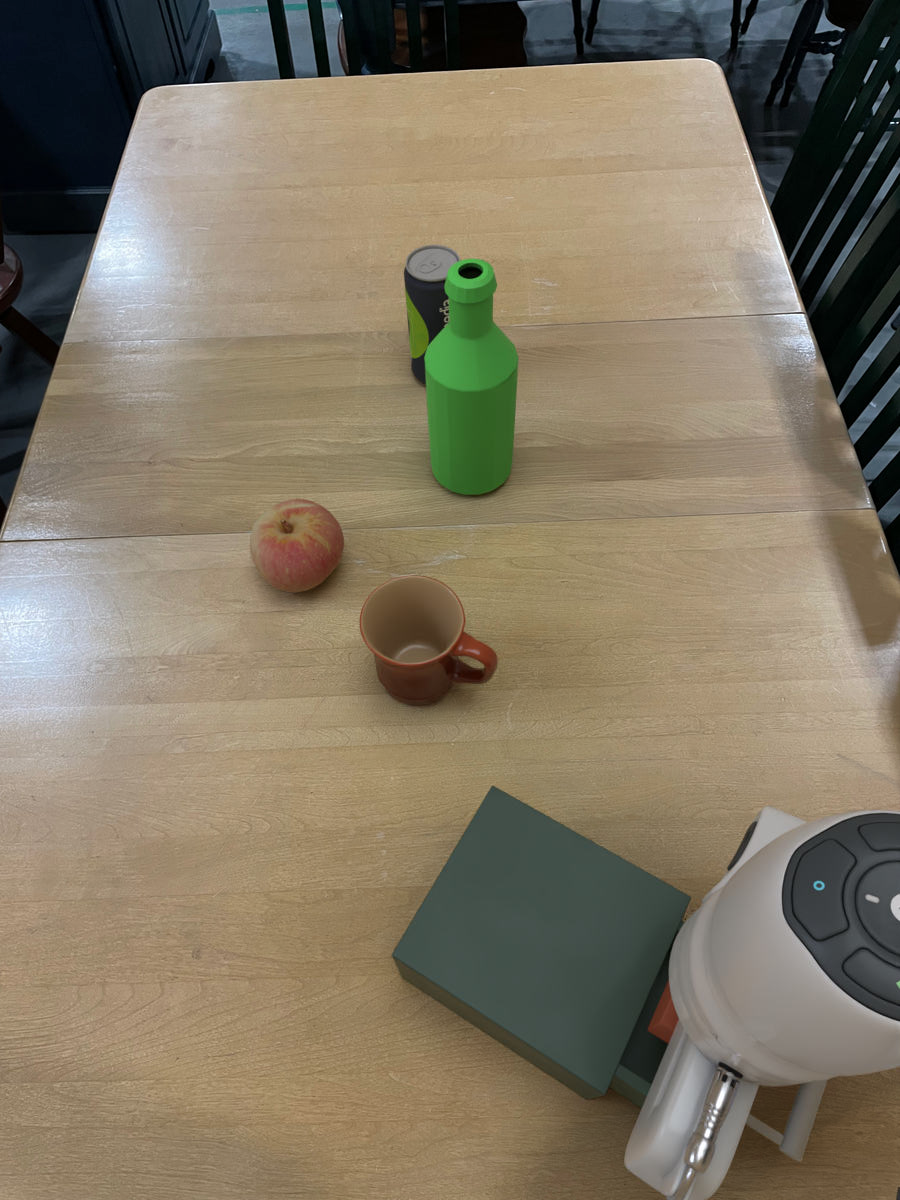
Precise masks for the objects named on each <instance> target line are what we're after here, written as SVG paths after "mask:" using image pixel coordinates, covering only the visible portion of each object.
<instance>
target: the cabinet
mask: <svg viewBox="0 0 900 1200" xmlns="http://www.w3.org/2000/svg"><path fill="white" fill-rule="evenodd" d="M691 900H692V896H690V895H689V894H687V893H686V892H684V891H681V890H680V889H678V888H677V887H675V886H673V885H671V884H669V883H667V882H666V881H664V880H662V879H660V878H659V877H657V876H655V875H653V874H652V873H650V872H648V871H646V870H644V869H643V868H641V867H639V866H637V865H635V864H634V863H633V862H631V861H628V860H626V859H625V858H623V857H621V856H620V855H618V854H616V853H614V852H612V851H611V850H609V849H607V848H606V847H604V846H602V845H600V844H598V843H596V842H594V840H593V841H592V840H591V839H589V838H588V837H585V836H584V835H582V834H581V833H579V832H577V831H575V830H573V829H571V828H570V827H568V826H566V825H564V824H562V823H561V822H559V821H558V820H555V819H554V818H552V817H550V816H549V815H547V814H545V813H543V812H541V811H540V810H537V809H536V808H535V807H532V806H530V805H529V804H527V803H525V802H524V801H522V800H520V799H519V798H516V797H514V796H513V795H511V794H509V793H507V792H505V790H502V789H500V788H498V787H497V786H495V785H491V786H490V788H489V790H488V792H487V793H486V795H485V797H484V798H483V799H482V802H481V803H480V805H479V807H478V808H477V810H476V811H475V813H474V815H473V817H472V819H471V820H470V822H469V824H468V825H467V827H466V829H465V830H464V831H463V833H462V835H461V837H460V838H459V840H458V842H457V844H456V845H455V847H454V849H453V851H452V852H451V853H450V855H449V857H448V859H447V861H446V862H445V864H444V865H443V867H442V869H441V871H440V872H439V874H438V875H437V878H436V879H435V880H434V882H433V884H432V886H431V887H430V889H429V891H428V892H427V894H426V896H425V897H424V900H422V902H421V904H420V906H419V908H418V910H417V911H416V913H415V915H414V916H413V918H412V919H411V920H410V922H409V924H408V926H407V928H406V929H405V931H404V933H403V934H402V936H401V938H400V939H399V941H398V943H397V945H396V946H395V948H394V950H393V951H392V953H391V957H392V959H393V962H394V964H395V966H396V968H397V970H398V973H399V975H400V977H401V978H402V979H403V980H404V981H406V982H407V983H409V984H411V985H412V986H413V987H415V988H416V989H418V990H420V991H421V992H422V993H424V994H425V995H426V996H428V997H430V998H432V999H433V1000H435V1001H436V1002H438V1003H439V1004H441V1005H442V1006H443V1007H445V1008H447V1009H448V1010H449V1011H451V1012H453V1013H454V1014H456V1015H457V1016H459V1017H460V1018H462V1019H463V1020H464V1021H466V1022H468V1023H469V1024H471V1025H472V1026H474V1027H475V1028H477V1029H478V1030H480V1031H482V1032H483V1033H484V1034H486V1035H487V1036H489V1037H490V1038H492V1039H494V1040H495V1041H496V1042H498V1043H499V1044H501V1045H502V1046H504V1047H506V1048H507V1049H509V1050H510V1051H511V1052H513V1053H515V1054H516V1055H518V1056H519V1057H520V1058H522V1059H524V1060H525V1061H527V1062H528V1063H530V1064H531V1065H532V1066H534V1067H536V1068H537V1069H539V1070H540V1071H542V1072H543V1073H545V1074H546V1075H548V1076H550V1078H552V1079H554V1080H555V1081H557V1082H559V1083H560V1084H562V1085H563V1086H565V1087H566V1088H567V1089H568V1090H571V1091H573V1093H575V1094H576V1095H578V1096H580V1097H581V1098H583V1099H584V1100H585V1101H588V1100H592V1099H596V1098H599V1097H602V1096H606V1094H607V1093H608V1090H609V1089H610V1088H609V1086H610V1083H611V1081H612V1079H613V1076H614V1074H615V1072H616V1070H617V1067H618V1065H619V1063H620V1060H621V1058H622V1056H623V1054H624V1051H625V1049H626V1047H627V1044H628V1042H629V1040H630V1038H631V1035H632V1033H633V1031H634V1028H635V1026H636V1024H637V1022H638V1019H639V1017H640V1015H641V1012H642V1010H643V1008H644V1005H645V1003H646V1001H647V999H648V996H649V994H650V992H651V989H652V987H653V985H654V983H655V980H656V978H657V976H658V973H659V971H660V969H661V967H662V964H663V962H664V960H665V957H666V955H667V953H668V951H669V948H670V946H671V944H672V941H673V939H674V937H675V934H676V932H677V930H678V928H679V925H680V923H681V921H682V920H683V919H684V916H685V914H686V912H687V909H688V907H689V905H690V902H691Z"/></svg>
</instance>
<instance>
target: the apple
mask: <svg viewBox="0 0 900 1200" xmlns="http://www.w3.org/2000/svg"><path fill="white" fill-rule="evenodd" d="M344 548H345V538H344V533H343V529H342V527H341V525H340V523H339V521H338V520H337V519H336V517H335V516H334V514H332V513H331V511H329V510H328V509H327V508H326V507H325V506H323V505H321V504H319V503H317V502H315V501H312V500H308V499H304V498H291V499H287V500H282V501H280V502H278V503H275V504H274V505H272V506H271V507H269V508H268V509H266V511H265V512H263V513H262V514H261V515H260V516H259V517H258V518H257V520H255V523H254V524H253V526H252V529H251V531H250V538H249V550H250V551H249V552H250V555H251V559H252V560H251V561H252V562H253V564H254V567H255V568H256V570H257V572H258V573H259V575H260V576H261V577H262V578H263V580H264V581H265V582H266V583H268V585H269V586H271V587H273V588H274V589H276V590H279V591H282V592H285V593H302V592H305V591H309V590H311V589H313V588H315V587H317V586H319V585H321V584H322V583H324V581H325V580H326V579H327V578H328V577H329V576H330V575H331V574H332V573H333V572H334V570H335V569H336V568H337V567H338V565H339V563H340V561H341V560H342V556H343V553H344Z"/></svg>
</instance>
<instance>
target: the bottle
mask: <svg viewBox="0 0 900 1200" xmlns="http://www.w3.org/2000/svg"><path fill="white" fill-rule="evenodd" d="M460 260H461V261H458V262H457V263H455V264H453V265H452V266H451V267H450V268H449V270H448V273H447V277H446V282H445V286H444V288H445V293H446V294H447V295H448V296H449V323H448V324H447V325H446V326H445V327H444V328H443V330H442V331H441V332H440V333H439V334H438V335H437V336H436V337H435V338H434V340H433V341H432V342H431V343H430V344H429V345H428V347H427V350H426V353H425V357H424V360H425V374H426V384H425V391H426V393H425V394H426V412H427V427H428V440H429V454H430V456H429V457H430V467H431V471H432V475H433V477H434V478H435V479H436V481H437V482H438V483H439V484H440V485H441V486H442V487H444V488H446V489H447V490H449V491H450V492H453V493H456V494H459V495H467V496H472V495H475V496H477V495H482V494H486V493H489V492H492V491H495V490H496V489H497V488H498V487H500V486H502V485H503V484H504V483H505V482H506V481H507V479H508V478H509V477H510V475H511V473H512V468H513V458H514V442H515V427H516V409H517V393H518V392H517V391H518V372H519V355H518V351H517V348H516V345H515V343H513V341H512V340H511V339H510V338H509V337H508V336H507V335H506V334H505V332H503V330H502V329H501V328H500V327H499V326H498V325H497V323H496V322H495V321H494V294H495V292H496V291H497V288H498V282H497V278H496V274H495V270H494V267H493V265H491V263H490V262H488V261H486V260H483V259H480V258H465V259H460Z"/></svg>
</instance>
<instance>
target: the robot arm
mask: <svg viewBox="0 0 900 1200" xmlns="http://www.w3.org/2000/svg"><path fill="white" fill-rule="evenodd" d="M726 869H727V870H726V872H725V873H724V874H723V875H722V877H721V879H720V880H719V881H718V882H717V883H716V884H715V885H714V886H713V887H712V888H711V889H710V890H709V891H707V893H705V895H704V896H703V898H702V900H701V905H700V906H699V907H698V908H697V909H696V910H695V911H694V912H693V913H692V914H691V915H690V916H689V917H688V918H687V919H686V921H685V923H684V925H683V926H682V927H681V929H680V931H679V933H678V935H677V937H676V939H675V942H674V944H673V947H672V951H671V956H670V961H669V985H670V992H671V996H672V1001H673V1004H674V1007H675V1010H676V1013H677V1015H678V1018H679V1020H678V1022H677V1025H676V1027H675V1030H674V1032H673V1035H672V1037H671V1039H670V1042H669V1044H668V1047H667V1049H666V1051H665V1054H664V1056H663V1059H662V1061H661V1063H660V1066H659V1068H658V1071H657V1073H656V1076H655V1078H654V1080H653V1083H652V1085H651V1088H650V1090H649V1092H648V1095H647V1097H646V1100H645V1102H644V1105H643V1107H642V1108H640V1109H641V1110H640V1112H639V1114H638V1117H637V1119H636V1121H635V1124H634V1126H633V1128H632V1131H631V1134H630V1136H629V1139H628V1141H627V1145H626V1147H625V1151H624V1158H623V1159H624V1160H623V1164H624V1166H625V1168H626V1169H627V1171H628V1172H630V1173H632V1174H633V1175H634V1176H636V1177H637V1178H638V1179H640V1180H641V1181H643V1182H644V1183H645V1184H646V1185H648V1186H650V1187H651V1188H653V1190H656V1191H657V1192H659V1193H660V1194H662V1195H664V1197H665V1199H666V1200H709V1198H711V1197H712V1196H714V1194H715V1193H716V1192H717V1191H718V1189H719V1188H720V1186H721V1185H722V1183H723V1181H724V1179H725V1177H726V1175H727V1173H728V1171H729V1169H730V1166H731V1164H732V1161H733V1160H734V1158H735V1154H736V1151H737V1149H738V1146H739V1143H740V1140H741V1137H742V1134H743V1131H744V1129H745V1126H746V1124H745V1123H746V1121H747V1118H748V1115H749V1114H750V1112H751V1110H752V1106H753V1103H754V1101H755V1099H756V1095H757V1092H758V1090H759V1087H760V1086H764V1087H774V1088H775V1087H788V1086H795V1085H800V1084H801V1083H808V1082H815V1081H822V1080H827V1079H828V1080H830V1079H835V1078H838V1077H853V1076H854V1077H856V1076H864V1075H870V1074H874V1073H880V1072H883V1071H888V1070H893V1069H895V1068H899V1067H900V810H893V809H892V810H891V809H879V808H878V809H860V810H850V811H847V812H846V811H845V812H840V813H834V814H830V815H826V816H824V817H823V816H822V817H819V818H816V819H813V820H811V821H807V820H804V819H802V818H800V817H798V816H796V815H794V814H791V813H788V812H786V811H784V810H781V809H778V808H775V807H773V806H770V805H764V806H763V807H762V808H761V809H760V810H759V811H758V812H757V814H756V815H755V816H754V817H753V820H752V822H751V824H750V825H749V826H748V828H747V830H746V832H745V833H744V836H743V838H742V840H741V841H740V844H739V846H738V848H737V849H736V852H735V854H734V856H733V857H732V858H731V860H730V862H729V864H728V865H727V867H726ZM828 1080H827V1081H828ZM895 1200H900V1186H898V1187H897V1192H896V1198H895Z"/></svg>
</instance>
